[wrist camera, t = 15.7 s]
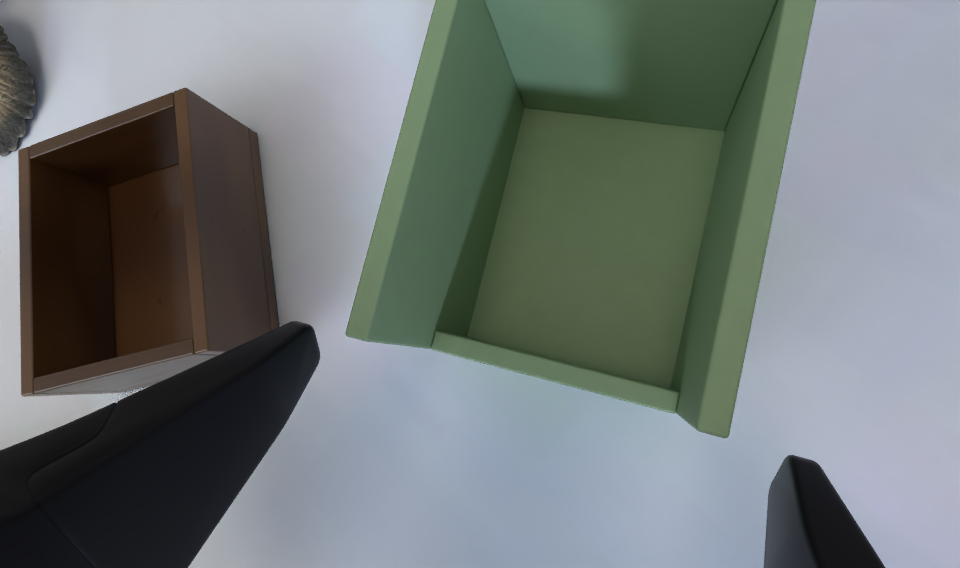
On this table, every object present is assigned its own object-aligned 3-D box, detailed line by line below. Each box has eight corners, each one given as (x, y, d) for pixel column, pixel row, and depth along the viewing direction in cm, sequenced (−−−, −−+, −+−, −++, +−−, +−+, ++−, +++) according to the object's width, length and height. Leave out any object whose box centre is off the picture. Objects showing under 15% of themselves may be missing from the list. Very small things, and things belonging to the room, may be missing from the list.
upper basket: (683, 409, 15) (728, 440, 9) (453, 349, 17) (343, 336, 11) (743, 125, 16) (827, -52, 9) (516, 99, 18) (451, -62, 11)
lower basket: (282, 354, 19) (208, 350, 15) (120, 392, 20) (20, 396, 17) (257, 132, 21) (185, 86, 17) (109, 183, 22) (17, 149, 19)
